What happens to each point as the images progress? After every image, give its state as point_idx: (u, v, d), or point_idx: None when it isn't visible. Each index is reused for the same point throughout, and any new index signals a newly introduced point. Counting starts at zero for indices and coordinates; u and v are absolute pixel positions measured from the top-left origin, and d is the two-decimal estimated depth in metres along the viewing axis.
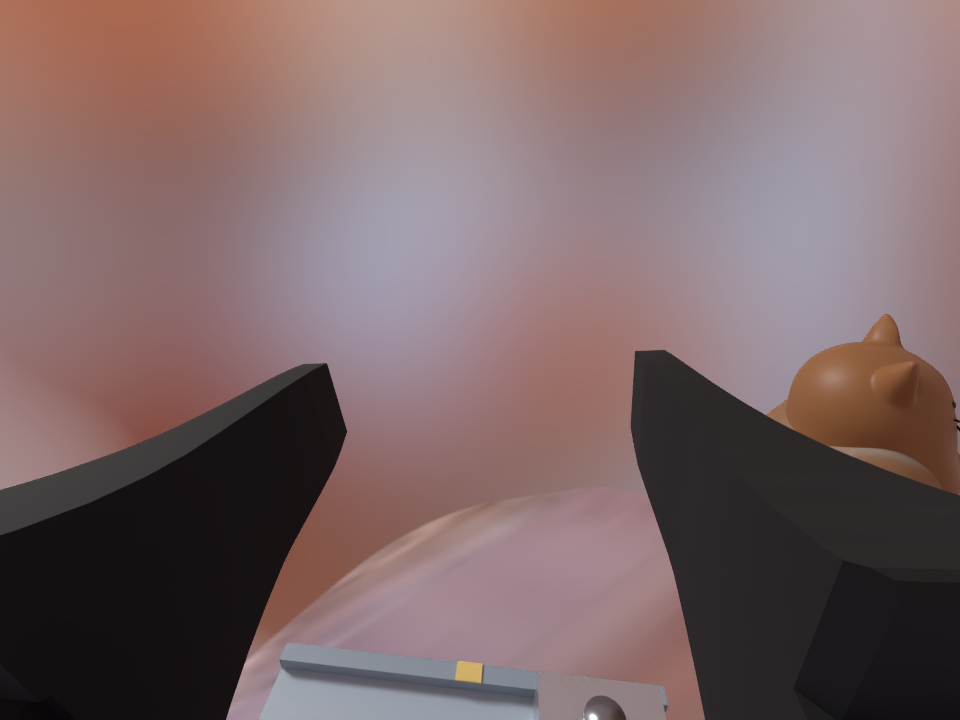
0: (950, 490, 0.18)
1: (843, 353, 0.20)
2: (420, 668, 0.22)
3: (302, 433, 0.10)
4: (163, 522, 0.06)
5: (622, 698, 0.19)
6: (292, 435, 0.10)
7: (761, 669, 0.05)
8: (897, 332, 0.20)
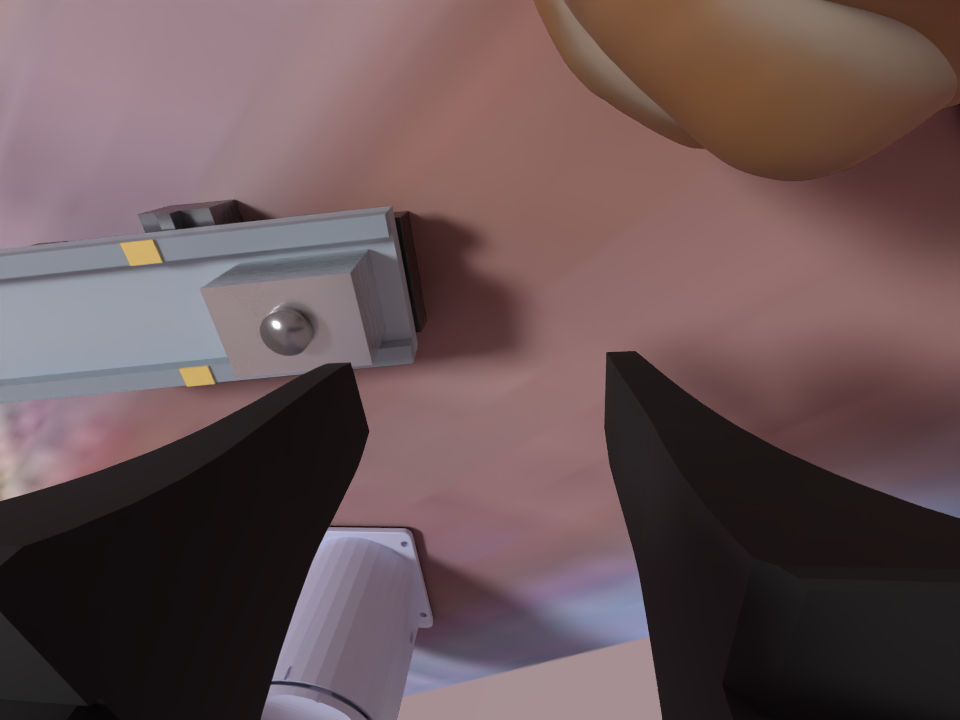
0: None
1: None
2: (83, 261, 0.17)
3: (328, 433, 0.10)
4: (202, 523, 0.06)
5: (306, 297, 0.15)
6: (319, 434, 0.09)
7: (699, 665, 0.05)
8: None
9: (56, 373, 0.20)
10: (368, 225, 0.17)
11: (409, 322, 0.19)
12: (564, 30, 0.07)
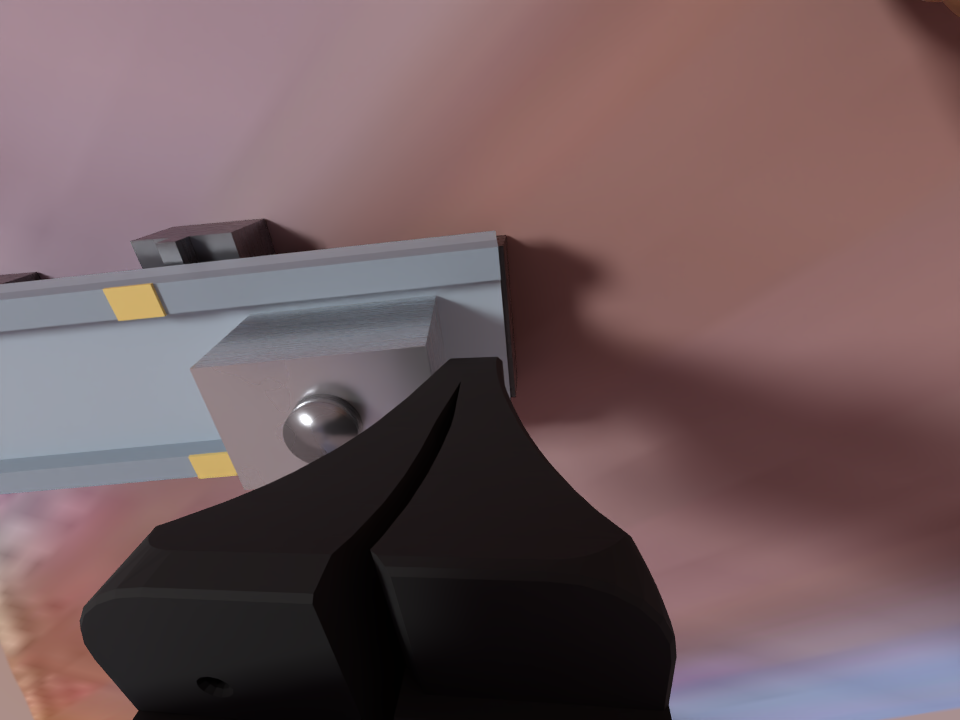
0: None
1: None
2: (48, 313, 0.12)
3: None
4: None
5: (355, 381, 0.10)
6: None
7: None
8: None
9: (19, 457, 0.15)
10: (471, 262, 0.11)
11: (509, 391, 0.14)
12: None
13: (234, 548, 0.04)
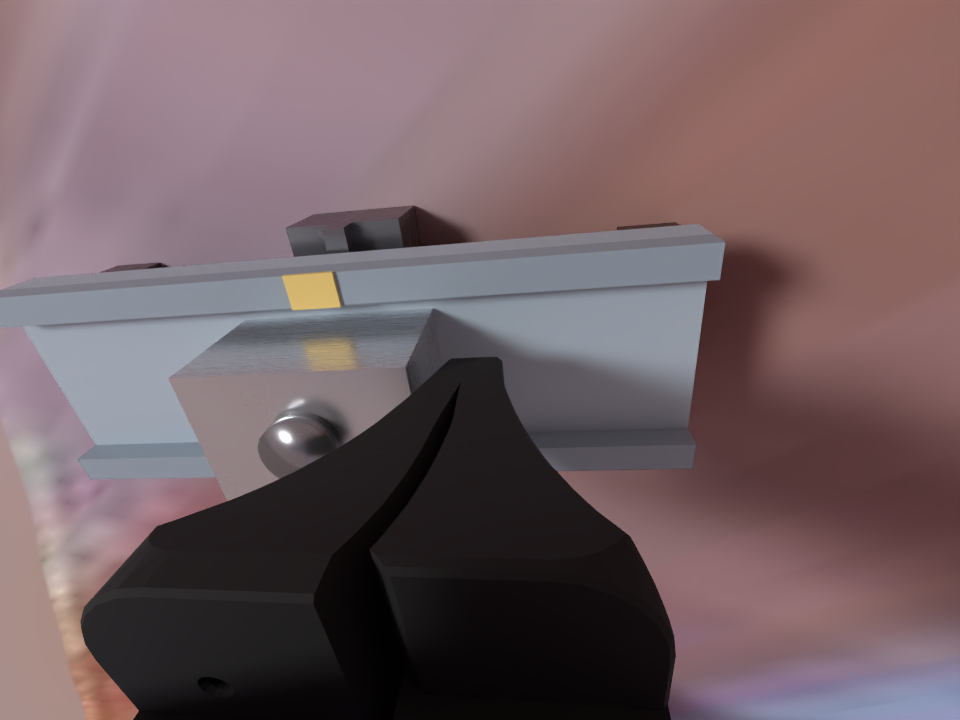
0: None
1: None
2: (223, 299, 0.11)
3: None
4: None
5: (333, 400, 0.09)
6: None
7: None
8: None
9: (167, 442, 0.14)
10: (690, 259, 0.10)
11: (689, 404, 0.12)
12: None
13: (235, 548, 0.04)
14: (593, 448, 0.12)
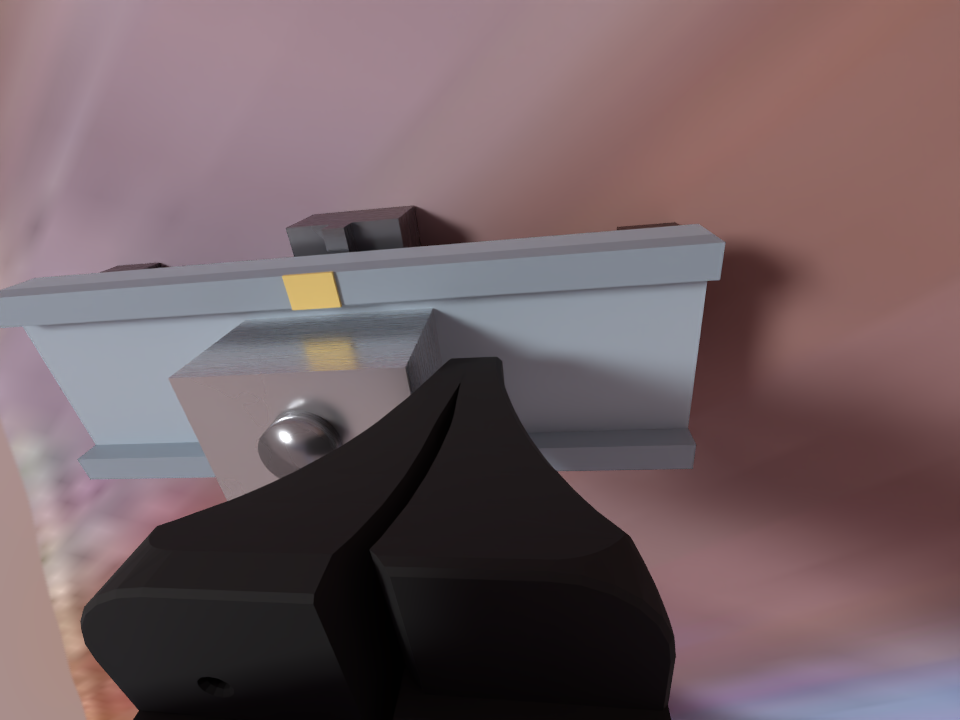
0: None
1: None
2: (223, 299, 0.11)
3: None
4: None
5: (333, 400, 0.09)
6: None
7: None
8: None
9: (167, 442, 0.14)
10: (690, 259, 0.10)
11: (689, 404, 0.12)
12: None
13: (235, 548, 0.04)
14: (593, 448, 0.12)
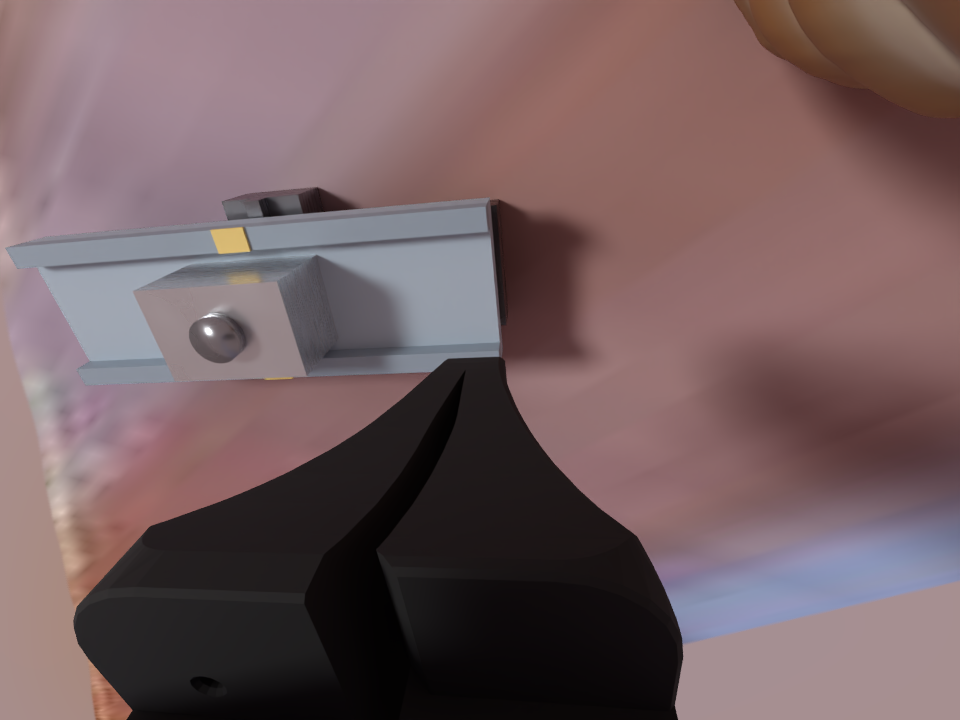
0: None
1: None
2: (173, 247, 0.17)
3: None
4: None
5: (235, 305, 0.15)
6: None
7: None
8: None
9: (141, 358, 0.20)
10: (466, 218, 0.15)
11: (498, 324, 0.18)
12: None
13: (228, 549, 0.04)
14: (431, 354, 0.18)
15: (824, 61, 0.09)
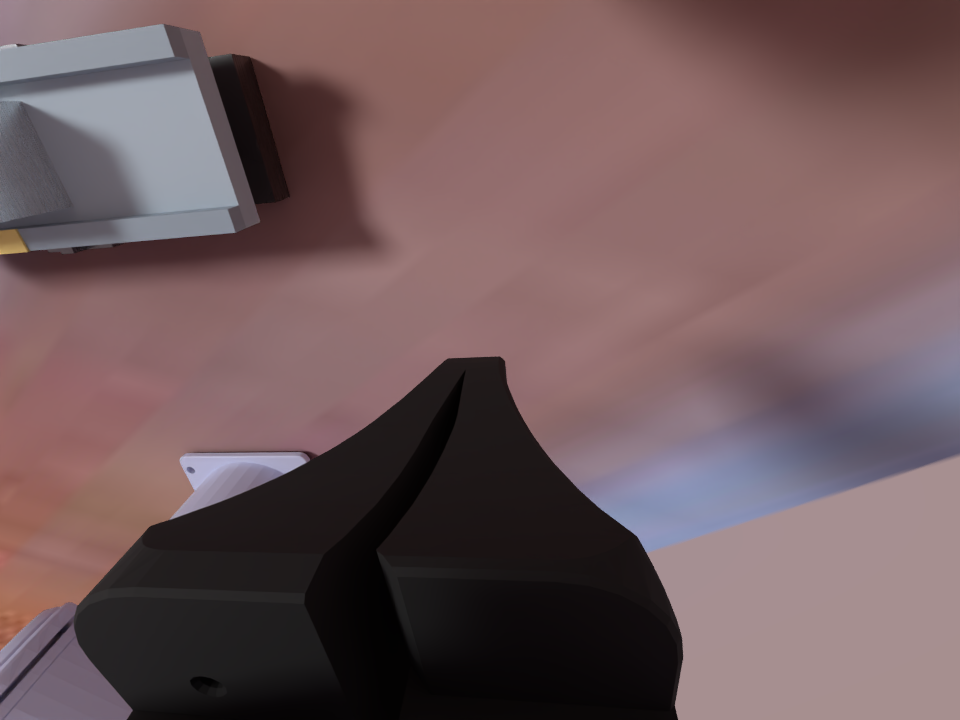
0: None
1: None
2: None
3: None
4: None
5: None
6: None
7: None
8: None
9: None
10: (148, 40, 0.14)
11: (233, 184, 0.16)
12: None
13: (228, 549, 0.04)
14: (160, 216, 0.16)
15: None
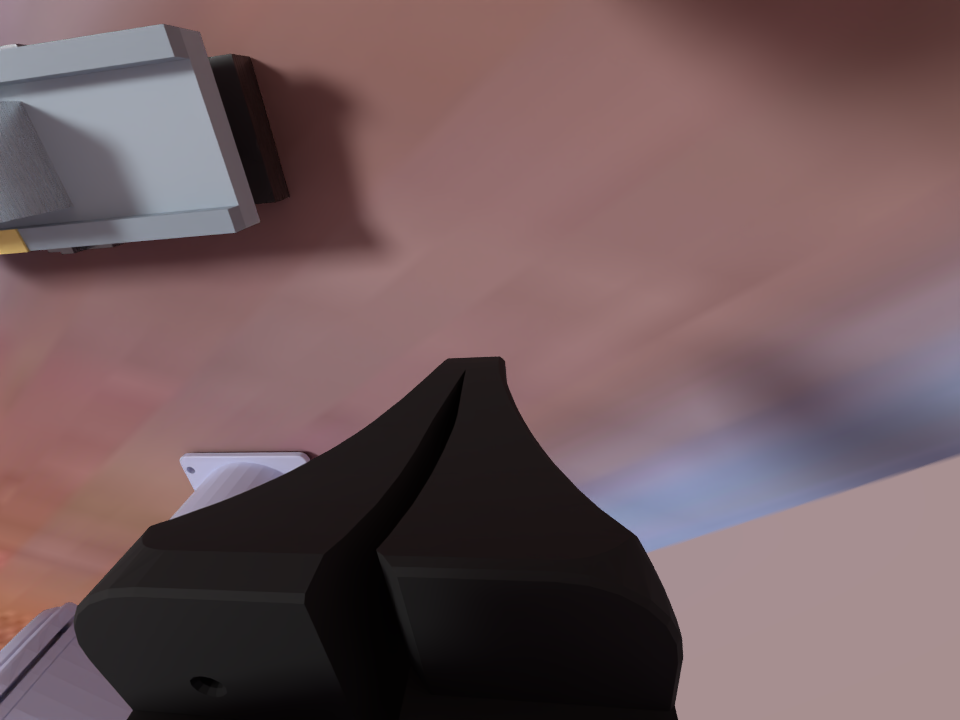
0: None
1: None
2: None
3: None
4: None
5: None
6: None
7: None
8: None
9: None
10: (147, 40, 0.14)
11: (233, 184, 0.16)
12: None
13: (228, 549, 0.04)
14: (160, 217, 0.16)
15: None
